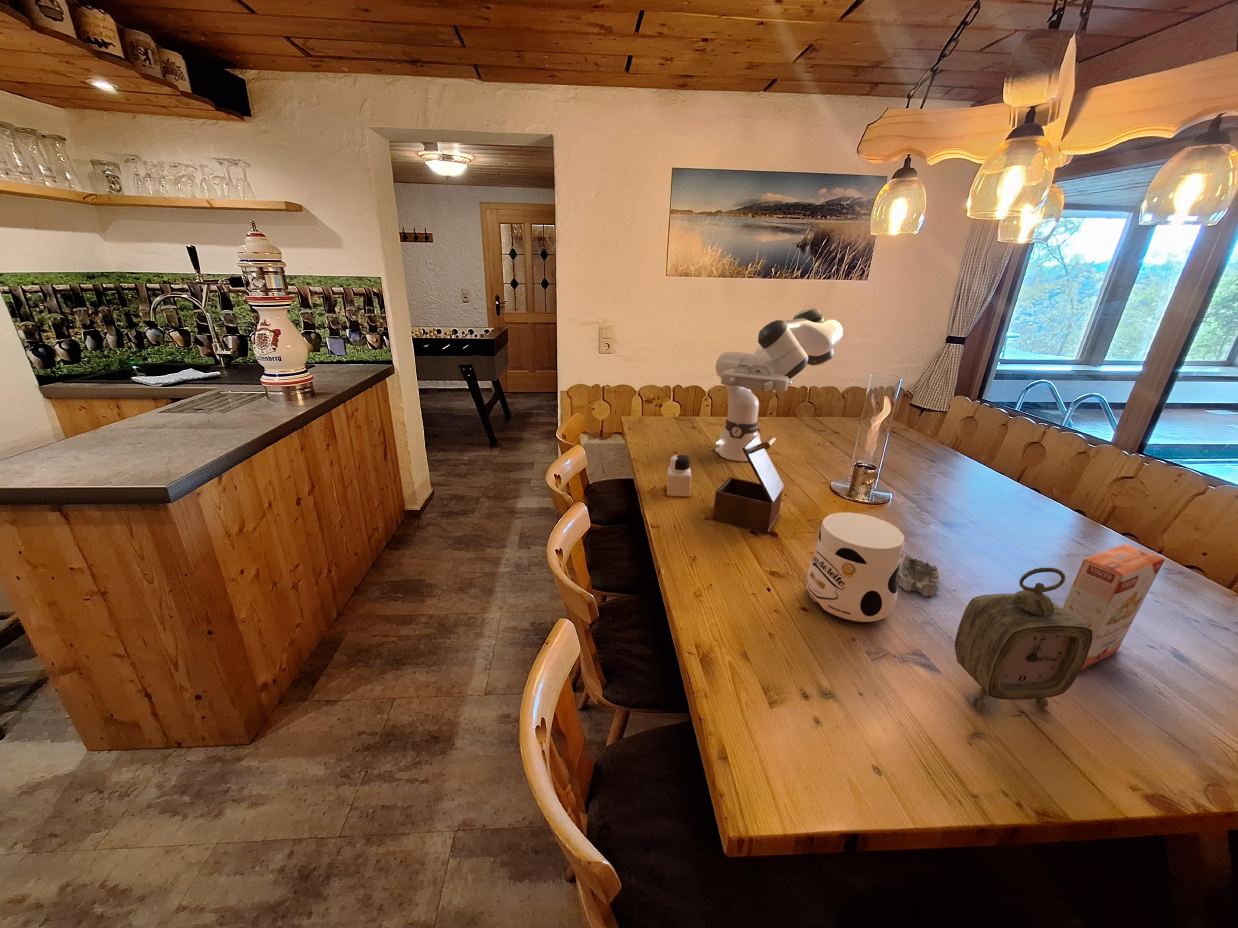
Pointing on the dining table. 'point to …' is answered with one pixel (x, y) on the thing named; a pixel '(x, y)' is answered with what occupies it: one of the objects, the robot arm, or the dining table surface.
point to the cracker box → (1111, 595)
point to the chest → (745, 505)
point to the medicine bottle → (679, 476)
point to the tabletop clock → (1021, 644)
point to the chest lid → (764, 466)
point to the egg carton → (918, 576)
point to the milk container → (856, 567)
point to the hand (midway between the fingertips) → (747, 385)
